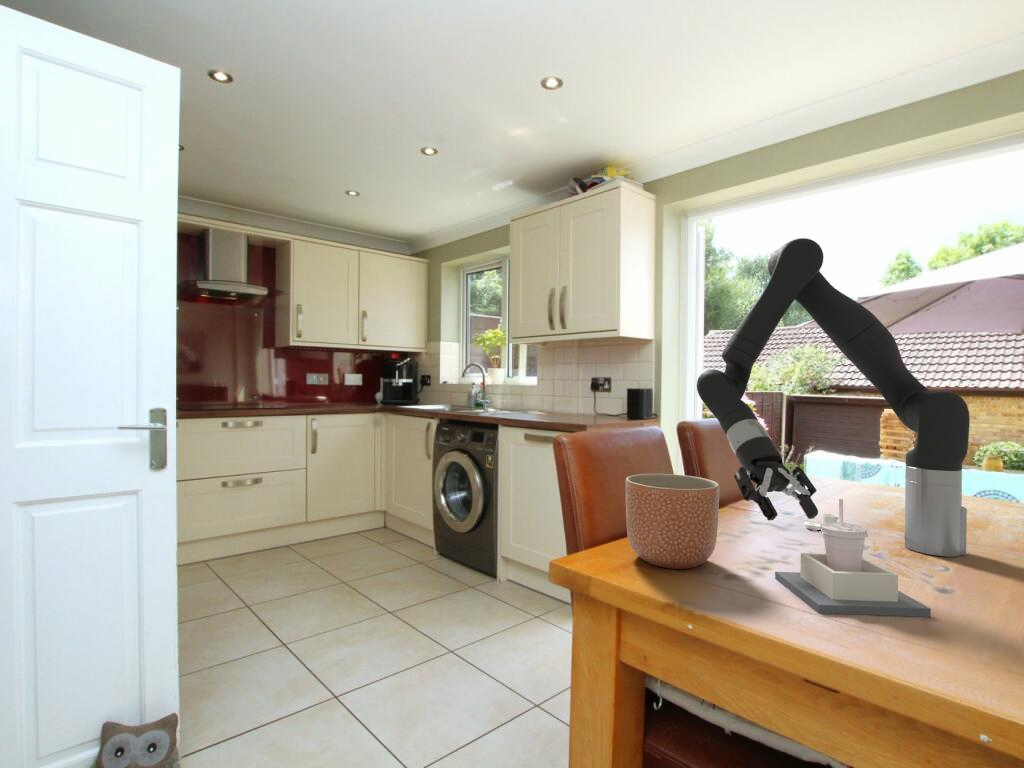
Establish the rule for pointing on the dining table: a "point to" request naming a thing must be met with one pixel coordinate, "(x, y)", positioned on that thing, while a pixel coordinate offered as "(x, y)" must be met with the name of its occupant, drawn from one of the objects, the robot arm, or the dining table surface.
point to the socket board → (850, 589)
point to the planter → (672, 518)
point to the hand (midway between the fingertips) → (794, 517)
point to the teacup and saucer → (825, 519)
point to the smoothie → (844, 544)
